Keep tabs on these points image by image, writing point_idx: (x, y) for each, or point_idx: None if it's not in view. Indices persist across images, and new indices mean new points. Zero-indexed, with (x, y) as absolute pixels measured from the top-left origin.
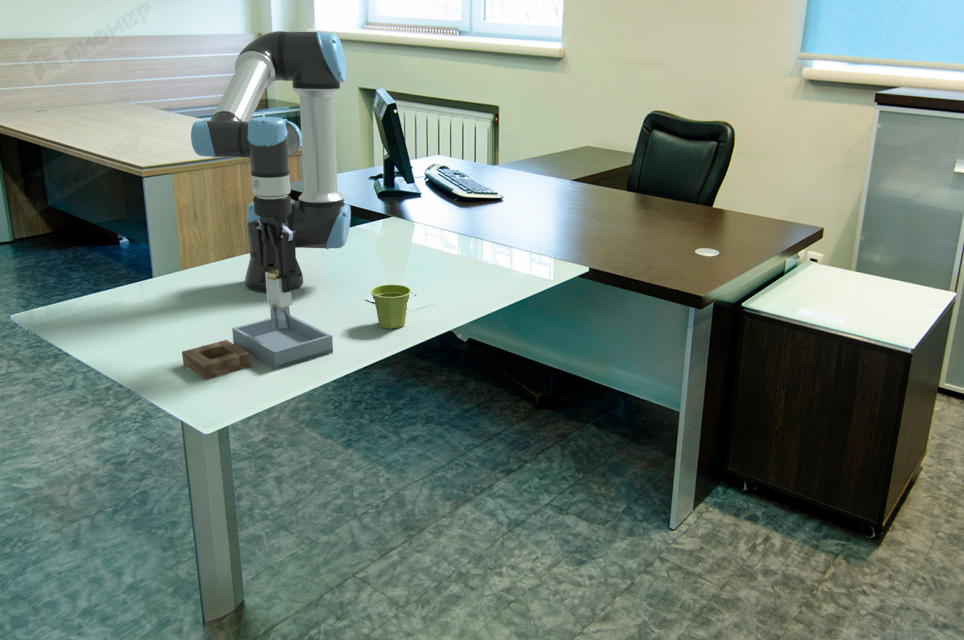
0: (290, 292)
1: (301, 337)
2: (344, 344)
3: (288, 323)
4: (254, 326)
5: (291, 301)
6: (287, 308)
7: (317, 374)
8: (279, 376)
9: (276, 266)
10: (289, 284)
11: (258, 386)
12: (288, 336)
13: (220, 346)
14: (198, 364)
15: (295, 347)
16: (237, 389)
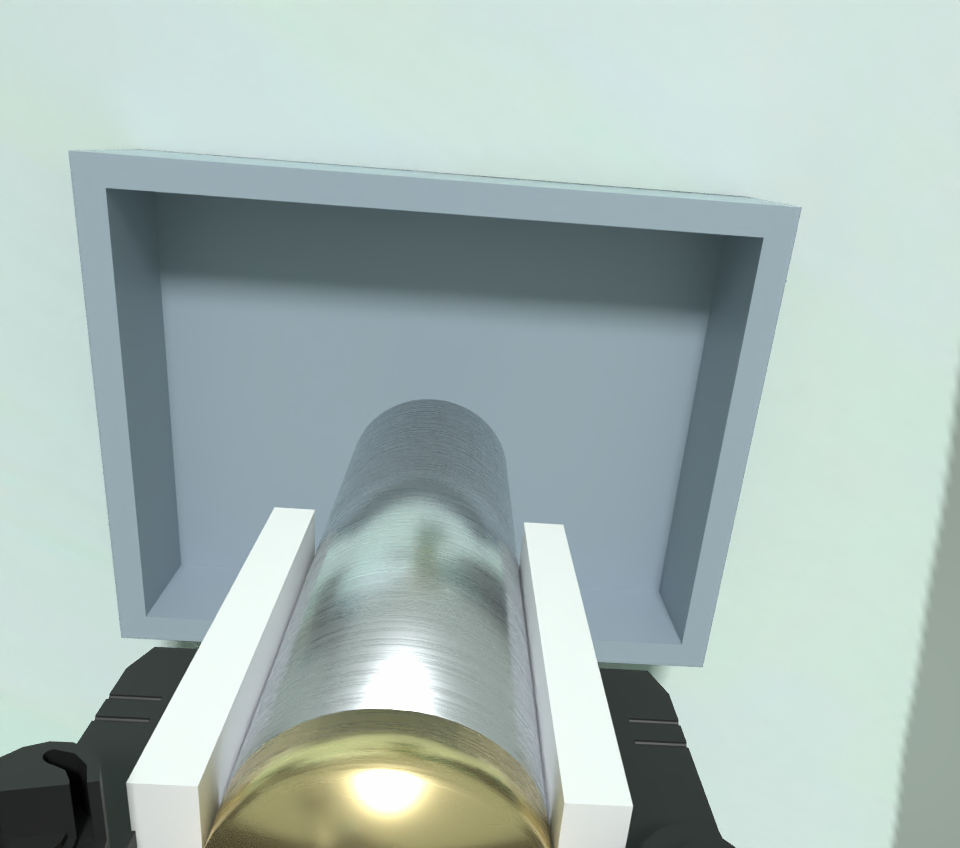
0: (584, 617)
1: (409, 232)
2: (694, 16)
3: (504, 460)
4: (142, 484)
5: (567, 545)
6: (512, 526)
7: (903, 476)
8: (747, 623)
9: (51, 810)
10: (684, 768)
11: (754, 742)
12: (326, 290)
13: None
14: None
15: (728, 526)
16: None
